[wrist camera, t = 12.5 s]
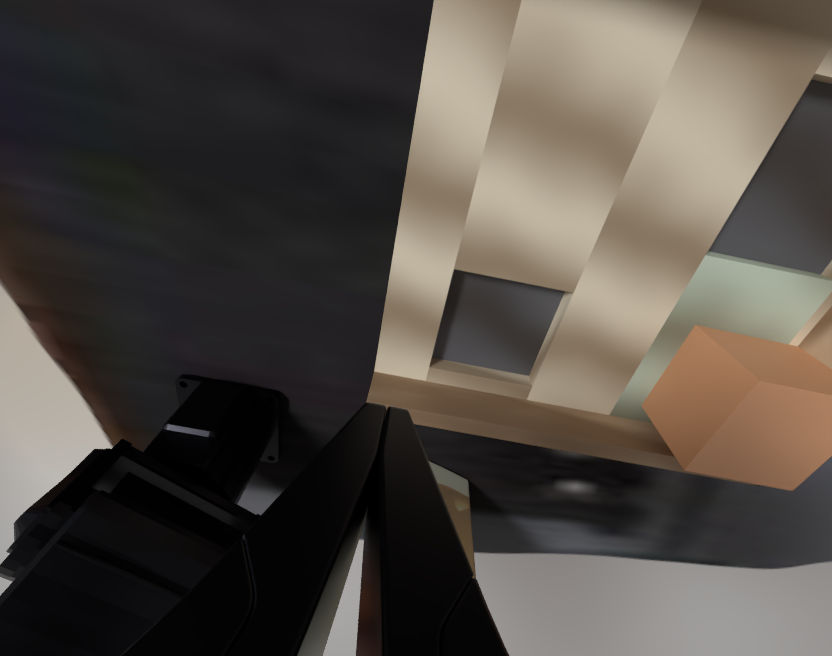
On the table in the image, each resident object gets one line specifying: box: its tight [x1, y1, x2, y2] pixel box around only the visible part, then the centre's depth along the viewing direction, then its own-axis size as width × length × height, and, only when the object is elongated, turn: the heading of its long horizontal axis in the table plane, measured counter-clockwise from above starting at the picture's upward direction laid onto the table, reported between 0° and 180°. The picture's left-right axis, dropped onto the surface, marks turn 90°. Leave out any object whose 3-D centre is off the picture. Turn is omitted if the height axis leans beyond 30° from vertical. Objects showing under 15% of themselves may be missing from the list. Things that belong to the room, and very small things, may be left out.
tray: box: [366, 0, 832, 486], centre depth 17 cm, size 21×22×4 cm
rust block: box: [641, 325, 832, 491], centre depth 19 cm, size 6×6×4 cm
